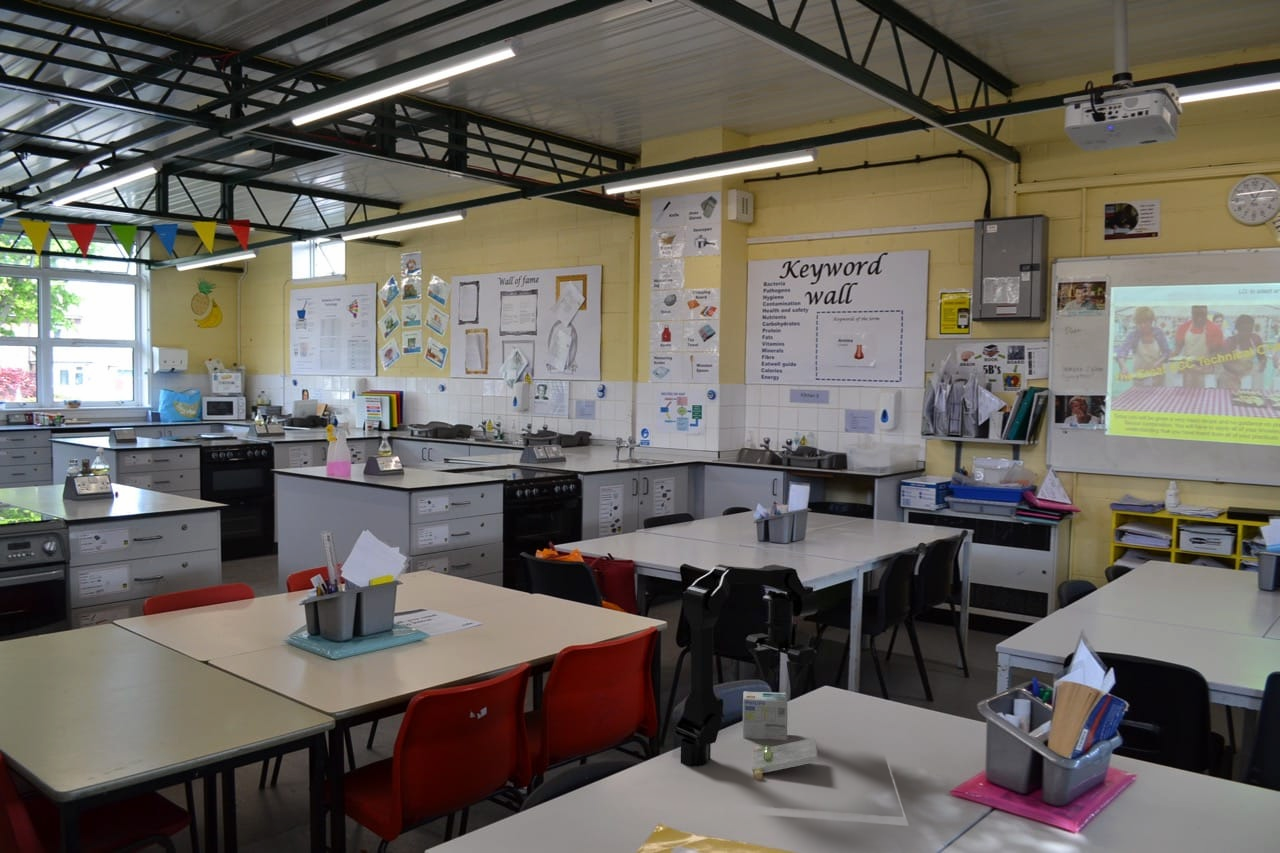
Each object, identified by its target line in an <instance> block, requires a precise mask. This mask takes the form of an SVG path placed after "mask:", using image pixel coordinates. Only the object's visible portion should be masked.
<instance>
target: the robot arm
mask: <svg viewBox="0 0 1280 853" xmlns="http://www.w3.org/2000/svg"><path fill="white" fill-rule="evenodd" d="M718 584H719V585H718ZM734 584H736V585H748V586H750V585H751V586H763V587H766V588H770V589H774V590H768V592H767V593H765V595H764V596H763V597H762V601H765V602H769V603H768V621H766V622H765V623H764V627H765V628H768V634H765V633H763V632H760V633H755V634H749V635H748V636H747V637H746V638H745V648H747V649H748V652H750V653H751V655H752V656H753V659H754V661H755V663H756V665H757V666H758V670H759V671H760V674H761V676H762V678H763V680H768V679H769V675H770V662H771V660H770V659H771V655H772V653H773V651H776V652H779V653H781V654H785V655H787V656H786V657H787V659H788V661H786V667H787V668H786V669H787V673H788V681H789V682H788V683H789V686H790V689H791V690H795V689H796V688H797V685H798V683H799V681H800V678H801V675H802V673H803V670H804V669H805V668H806V666H807V665H811V664H812V663H813V662H816V661H817V659H818V658H817V656H818V655H817V651H816V649H814V648H812V647H809V645H810V642H811V641H810V640H811V637H812V634H811V633H809V632H805V631H803V630H799V629H798V624H797V622H794V617H797V618H798V617H803V616H808V615H809V616H810V615H814V614H816V613H817V612H818V610H819V609H820V600H819V598H818V596H817V594H816V593H815V592H814V587H813V586H809V585H808V586H807V585H803V583H802V581H801V579H800V576H799V575H798V571H797V569H796V568H793V567H788V566H783V565H779V564H769V565H765V566H762V567H758V568H756V567H744V566H732V565H731V566H729V565H725V564H717V565H715V566H714V567H713V568H712V569H711V570H710V571H709V572H707V573H706V574H704V575H702V576H701V577H699V578H697V579H695V581H694V582H693V583H692V584H691V585H690V586H688V587H687V588H686V590H685V591H684V592H683V594H682V598H681V599H682V608H683V613H684V616H685V618H686V620H687V622H688V625H689V627H690V683H691V685H690V686H691V688H690V692H689V693H688V695H687V697H686V699H685V701H684V708H683V709H684V710H683V713H682V714H681V716H680V717H679V719H678V720H677V722H676V723H675V725H674V726H673V730H674V733H675V734H674V735H675V736H677V737H679V738H682V739H681V740H680V764H682V765H685V766H688V767H690V768H693V767H703V766H705V765H707V764H708V763H709V761H710V760H711V751H712V750H711V749H712V748H711V744H715V743H716V742H717V738H718V735H719V731H720V728H721V726H722V721H723V718H724V717H725V715H724V699H723V698H721V697H719V696H716V693H715V690H714V626H715V625H716V623H717V621H718V620H719V618H720V613H721V606H722V605H723V604H724V603H725V601H727V599H728V598H729V595H730V592H731V588H732V587H733V585H734ZM717 585H718V586H717ZM716 586H717V588H715V589H712V588H713V587H716ZM775 590H776V591H778V592H776V591H775ZM800 645H801V646H800ZM793 646H794V647H793Z"/></svg>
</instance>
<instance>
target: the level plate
mask: <svg viewBox="0 0 1280 853" xmlns="http://www.w3.org/2000/svg"><path fill="white" fill-rule="evenodd" d="M817 762H819V759H818V751H817V742H816V738H815V737H810V738H806V739H801V740H797V741H792V742H787V743H782V744H778V745H774V746H770V745H768V744H767V745H764V747H763V749H759V750H752V765H751V767H752V768H751V770H752V774H753V776H754V771H756V770H759V771H762V772H763V774H764V773H771V772H774V771H781V770H783V769H789V768H793V767H794V768H795V767H798V766H803V765H807V764H812V763H817Z"/></svg>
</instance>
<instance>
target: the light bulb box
mask: <svg viewBox="0 0 1280 853" xmlns="http://www.w3.org/2000/svg"><path fill="white" fill-rule="evenodd" d="M742 738H743V739H757V740H777V741H779V740H780V741H781V740H782V741H787V740H788V697H787V693H786V692H772V691H771V692H768V691H764V692H763V691H747V690H745V691H743V698H742Z"/></svg>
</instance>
